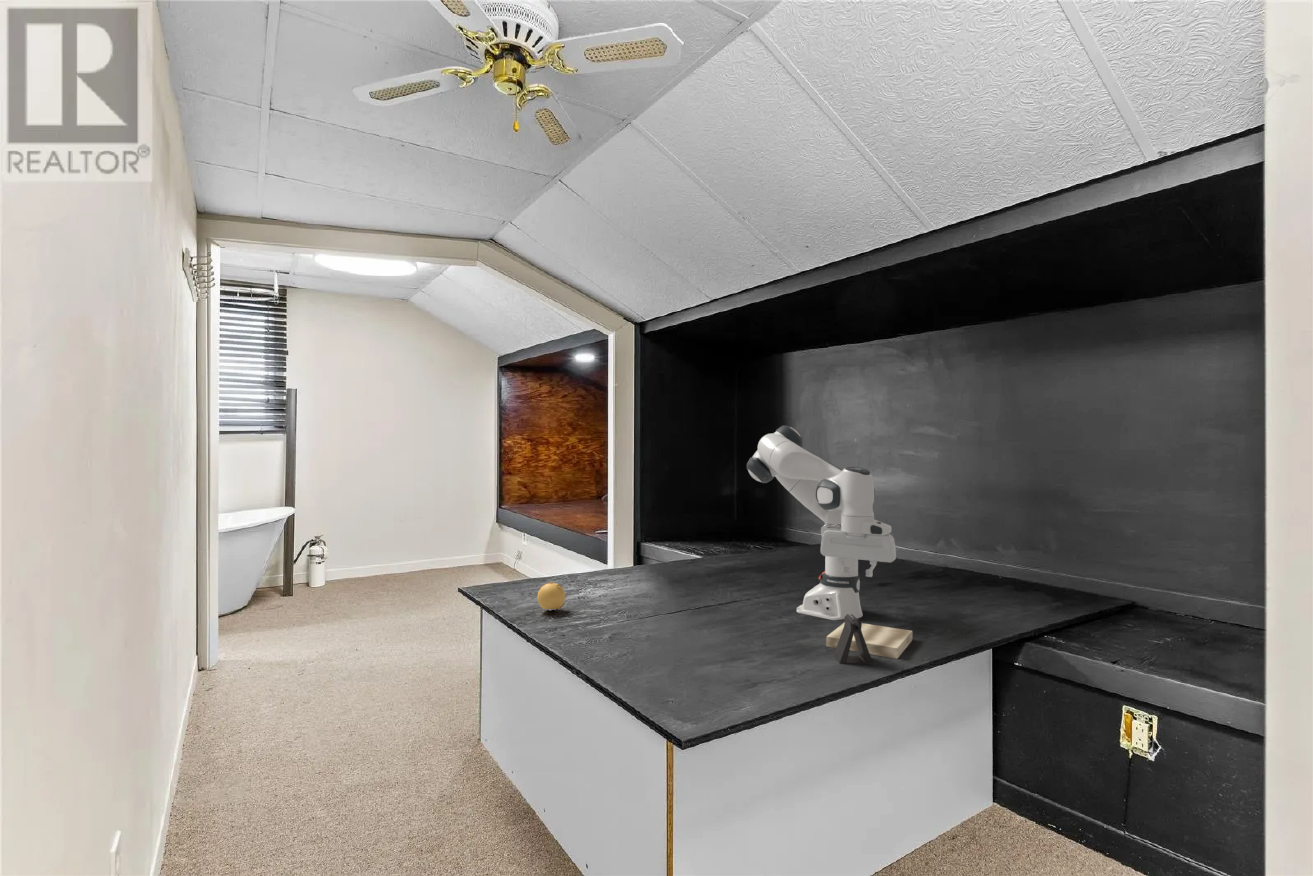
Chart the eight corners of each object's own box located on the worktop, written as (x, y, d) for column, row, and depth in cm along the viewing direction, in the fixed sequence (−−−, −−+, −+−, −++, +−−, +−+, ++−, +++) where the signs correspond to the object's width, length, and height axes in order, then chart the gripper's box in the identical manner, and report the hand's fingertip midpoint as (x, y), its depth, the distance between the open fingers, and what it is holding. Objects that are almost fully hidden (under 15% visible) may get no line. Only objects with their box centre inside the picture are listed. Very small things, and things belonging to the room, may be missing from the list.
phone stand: (865, 656, 181) (865, 614, 181) (872, 664, 175) (872, 619, 175) (833, 656, 181) (833, 614, 181) (839, 664, 175) (839, 619, 175)
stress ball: (562, 614, 225) (563, 585, 225) (534, 614, 225) (534, 585, 225) (567, 607, 235) (567, 579, 235) (540, 607, 235) (540, 579, 235)
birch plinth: (826, 646, 190) (826, 636, 190) (846, 630, 207) (846, 620, 207) (897, 659, 179) (897, 648, 179) (912, 640, 196) (912, 630, 196)
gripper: (817, 524, 183) (817, 572, 183) (892, 529, 172) (892, 581, 172) (824, 521, 189) (824, 569, 189) (897, 527, 178) (897, 577, 178)
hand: (857, 575), depth 180 cm, fingers open, 5 cm apart
